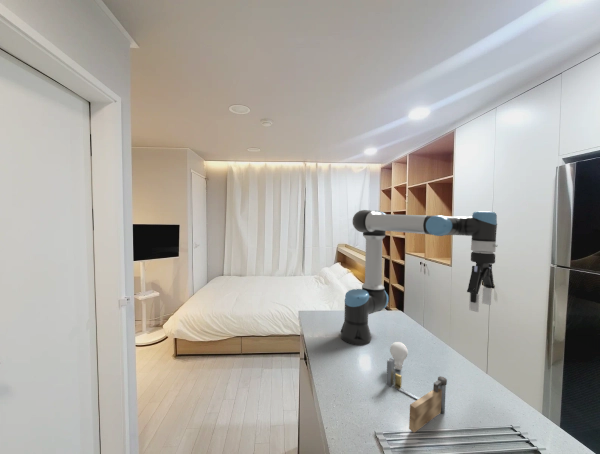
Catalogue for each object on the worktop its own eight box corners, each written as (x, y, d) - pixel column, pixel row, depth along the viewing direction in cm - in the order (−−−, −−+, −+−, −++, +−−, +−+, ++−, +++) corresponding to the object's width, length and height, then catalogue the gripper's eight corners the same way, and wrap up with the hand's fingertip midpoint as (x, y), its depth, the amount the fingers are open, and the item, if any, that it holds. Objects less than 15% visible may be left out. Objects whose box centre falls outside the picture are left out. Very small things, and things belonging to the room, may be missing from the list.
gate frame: (386, 384, 90) (387, 360, 89) (390, 381, 92) (391, 357, 91) (443, 415, 76) (444, 386, 76) (446, 410, 78) (447, 382, 78)
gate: (415, 434, 68) (416, 399, 68) (407, 427, 70) (408, 394, 70) (447, 410, 77) (448, 379, 77) (439, 405, 79) (440, 375, 79)
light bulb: (406, 367, 101) (407, 340, 101) (407, 376, 95) (409, 348, 94) (389, 363, 103) (390, 337, 103) (389, 372, 97) (390, 345, 97)
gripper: (483, 255, 84) (480, 317, 85) (505, 251, 99) (502, 304, 100) (458, 252, 90) (456, 310, 91) (482, 249, 105) (480, 299, 106)
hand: (480, 307), depth 95 cm, fingers open, 13 cm apart
